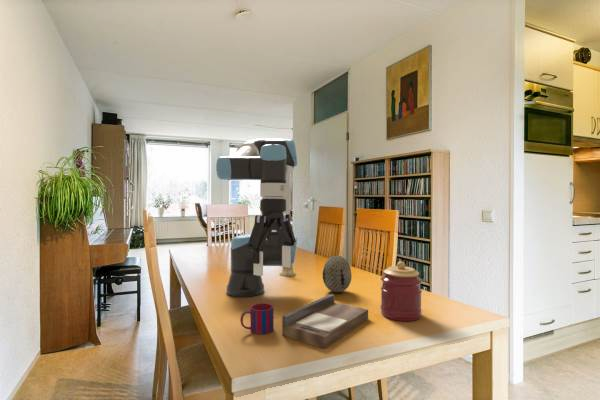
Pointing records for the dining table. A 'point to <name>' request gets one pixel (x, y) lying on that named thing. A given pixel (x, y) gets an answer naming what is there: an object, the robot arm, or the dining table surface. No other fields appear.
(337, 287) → the decorative egg
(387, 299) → the canister
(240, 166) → the robot arm
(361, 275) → the dining table surface
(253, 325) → the mug
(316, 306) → the memo pad holder
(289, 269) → the hand bell
